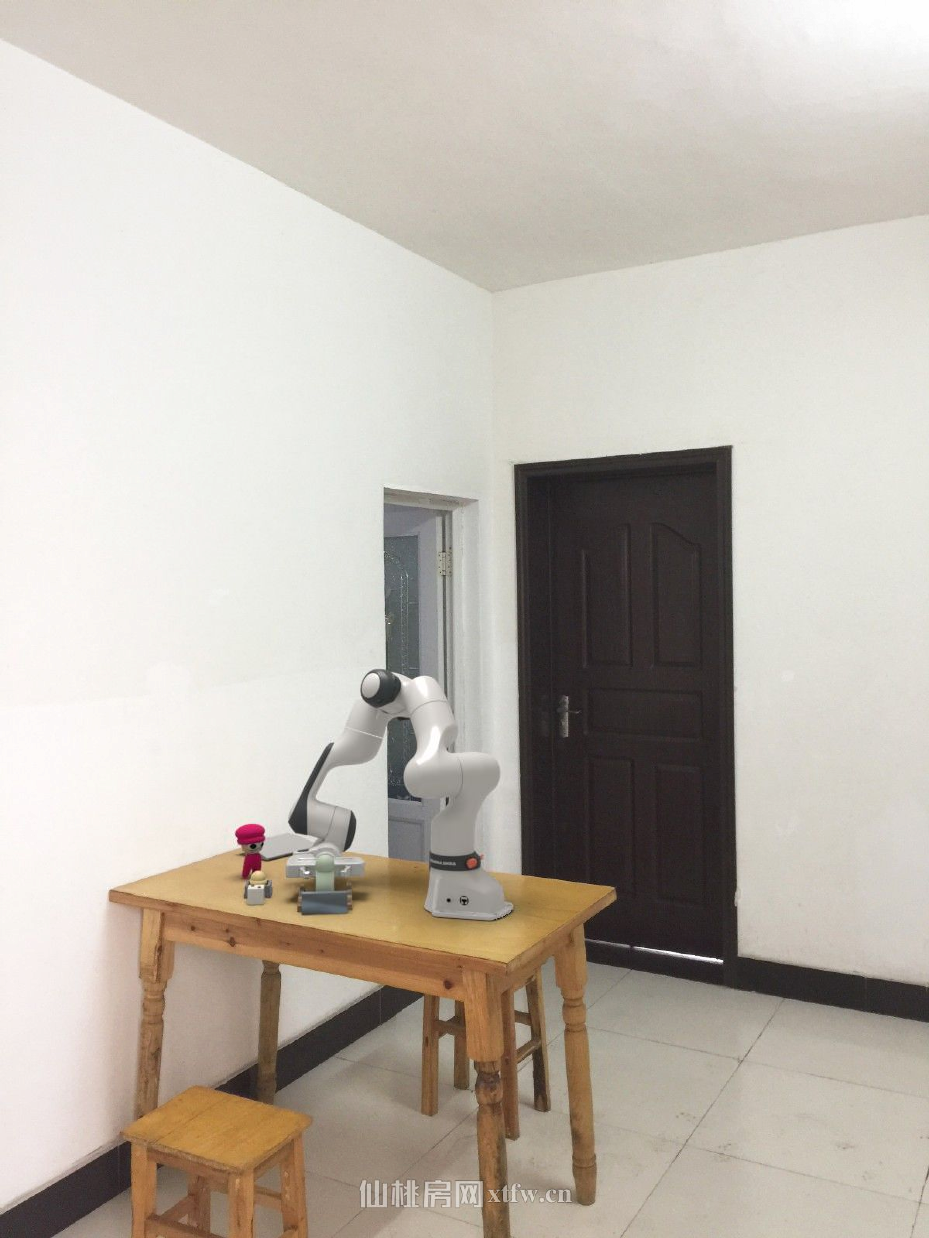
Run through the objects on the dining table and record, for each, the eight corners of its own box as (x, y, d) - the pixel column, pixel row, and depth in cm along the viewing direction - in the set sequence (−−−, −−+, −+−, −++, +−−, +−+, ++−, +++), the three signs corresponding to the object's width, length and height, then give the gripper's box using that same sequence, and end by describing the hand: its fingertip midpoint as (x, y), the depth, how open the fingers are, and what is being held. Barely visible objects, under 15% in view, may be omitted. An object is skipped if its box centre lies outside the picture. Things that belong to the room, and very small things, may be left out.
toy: (250, 882, 289) (250, 828, 289) (228, 878, 294) (228, 824, 294) (272, 876, 296) (271, 823, 296) (250, 871, 301) (250, 819, 301)
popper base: (272, 890, 282) (272, 879, 282) (270, 897, 275) (270, 886, 275) (246, 891, 281) (246, 880, 281) (243, 898, 274) (243, 886, 274)
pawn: (338, 904, 269) (338, 853, 268) (327, 909, 264) (327, 857, 264) (322, 902, 271) (322, 851, 270) (311, 906, 266) (311, 855, 266)
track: (300, 889, 283) (300, 870, 283) (351, 887, 285) (351, 869, 284) (296, 914, 260) (296, 894, 260) (352, 912, 261) (352, 892, 261)
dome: (267, 884, 280) (267, 868, 280) (266, 888, 276) (266, 872, 276) (250, 884, 280) (250, 868, 280) (249, 889, 275) (249, 873, 275)
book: (230, 856, 322) (230, 844, 322) (287, 843, 340) (287, 831, 340) (263, 864, 312) (263, 851, 312) (320, 850, 330) (320, 837, 330)
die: (264, 899, 272) (264, 882, 272) (263, 904, 268) (263, 886, 268) (248, 900, 272) (248, 883, 272) (247, 904, 268) (247, 887, 268)
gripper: (364, 872, 281) (366, 886, 268) (287, 874, 279) (284, 888, 265) (364, 849, 281) (366, 861, 268) (287, 851, 279) (284, 863, 265)
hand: (324, 875), depth 266 cm, fingers open, 8 cm apart
